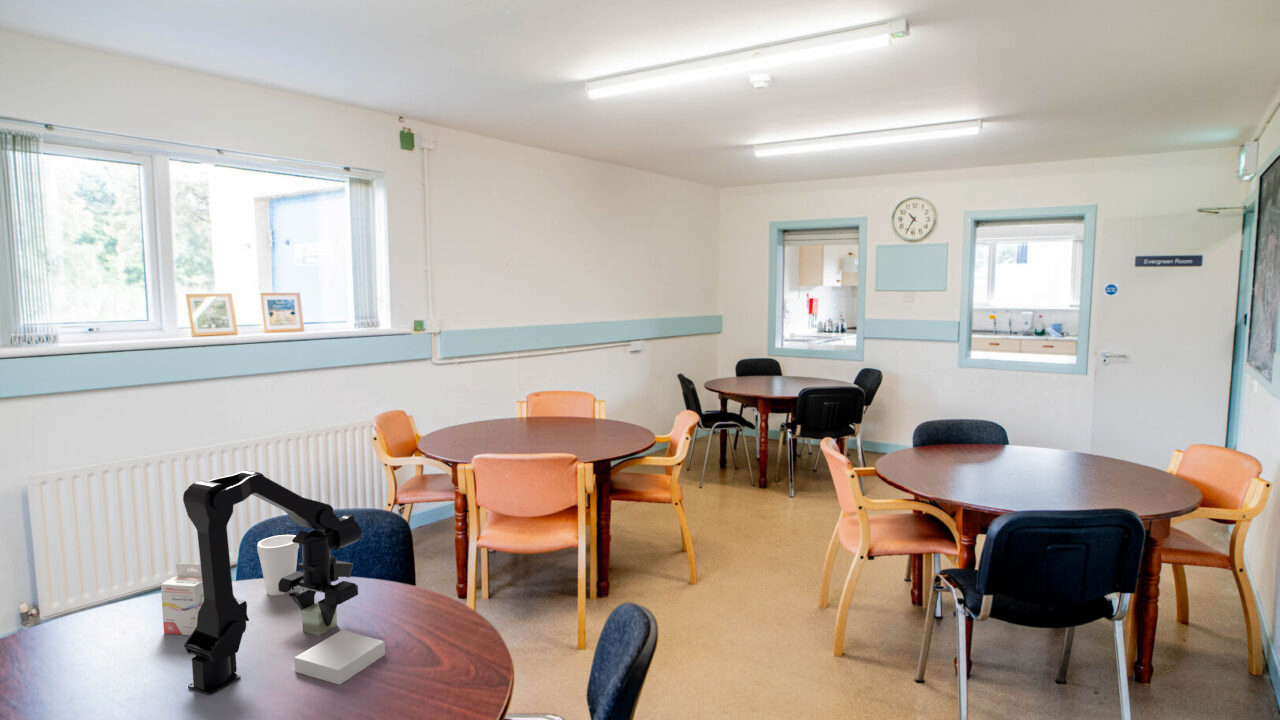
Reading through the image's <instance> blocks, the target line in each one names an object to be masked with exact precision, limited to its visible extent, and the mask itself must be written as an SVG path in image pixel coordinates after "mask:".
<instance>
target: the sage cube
mask: <svg viewBox="0 0 1280 720" xmlns="http://www.w3.org/2000/svg"><path fill="white" fill-rule="evenodd" d="M318 602H319V601H318ZM318 602H314V604H313V605H311V606H309V607H307V608H305V609H303V610H302V611H301V621H302V632H303V633H307V634H311V635H315V636H318V637H319V636H321V635H323V634H325V633H327V632H329V631H330V630H332V629H334V628H335V627H338V621H337V620H338V619H337V615H338V613H337V609H336V610H335V613H334V616H333V619H332V622H331V625H329V626H326V625H325V623H324V620H323V617H322V614H321V611H320V607H319V604H318Z"/></svg>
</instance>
